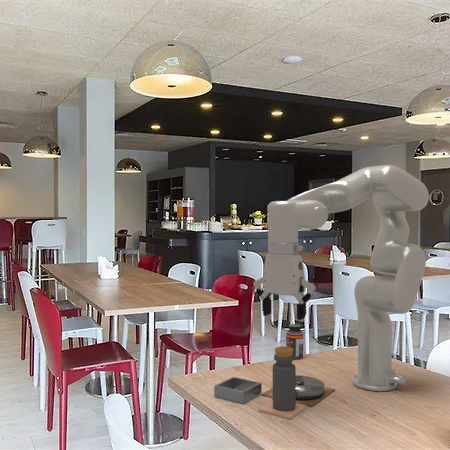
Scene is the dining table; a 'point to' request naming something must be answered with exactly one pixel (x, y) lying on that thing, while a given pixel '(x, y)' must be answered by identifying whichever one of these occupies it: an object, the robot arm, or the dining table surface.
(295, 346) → the supplement bottle
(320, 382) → the handwheel
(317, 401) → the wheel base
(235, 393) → the collar
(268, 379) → the dining table surface
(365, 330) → the robot arm
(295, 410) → the pad
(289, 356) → the bottle
